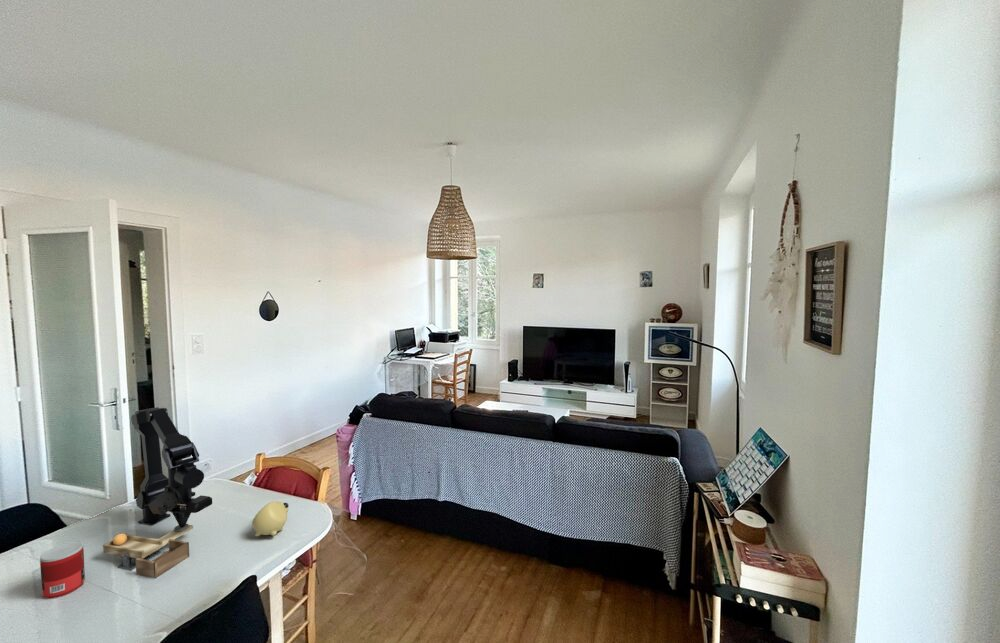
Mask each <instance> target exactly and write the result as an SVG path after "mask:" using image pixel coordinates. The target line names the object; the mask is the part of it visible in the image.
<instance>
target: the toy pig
mask: <svg viewBox="0 0 1000 643" xmlns="http://www.w3.org/2000/svg"><path fill="white" fill-rule="evenodd" d="M288 511H289V503H288V502H283V501H270V502H268V503H267V504H266V505H264V506H263V507H262V508H261V509H260V510H259V511H258V512H257V513H256V515H255V516H254V518H253V520H252V522H251V523H252V527H253V530H254V531H255V536H256V537H259V536H261V535H264V536H267V535H268V536H269V535H271V536H276V535H277V532H282V531H283V529H284V526H285V524H286V522H287V520H288Z"/></svg>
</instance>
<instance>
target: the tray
mask: <svg viewBox="0 0 1000 643" xmlns="http://www.w3.org/2000/svg"><path fill="white" fill-rule="evenodd" d="M189 557H190V542H188V541H183V540H178V539H170V540H169V543H168V550H167V551H166V552H164V553H162V554H159V556H157V557H156V558H153V560H151V559H150V560H145V559H140V558H137V559H136V568H135V574H136V576H138V575H139V576H141V577H142V576H143V577H146V578H151V579H157V578H158V577H160V576H162V575H163V574H165V573H166V572H167V571H170V570H171V569H172V568H174V567H176V566H177V565H178V564H180V563H182V562H183V561H184V560H186V559H189Z"/></svg>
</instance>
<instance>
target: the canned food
mask: <svg viewBox="0 0 1000 643" xmlns="http://www.w3.org/2000/svg"><path fill="white" fill-rule="evenodd" d="M84 552H85V551H84V543H83V542H82V541H70V542H65V543H62V544H59V545H56V546H54V547H52V548H49V549H48V550H46V551H44V552H43V553H42V554H41V555H40V557H39V567H40V578H41V580H40V582H41V594H42V597H43V598H45V599H49V600H50V599H57V598H61V597H64V596H66V595H68V594H71V593H72V592H75V591H76V590H78V589H79V588H80V587H82V586H83V584H84V582H85V580H86V575H85V574H86V573H85V553H84Z"/></svg>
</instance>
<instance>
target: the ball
mask: <svg viewBox="0 0 1000 643" xmlns="http://www.w3.org/2000/svg"><path fill="white" fill-rule="evenodd" d="M126 534H127V533H119V534H116V535H115V536H114V538H113V539H112V540H113V544H114V545H122V544H123V543H125V541H126V540H127V536H126Z"/></svg>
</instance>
